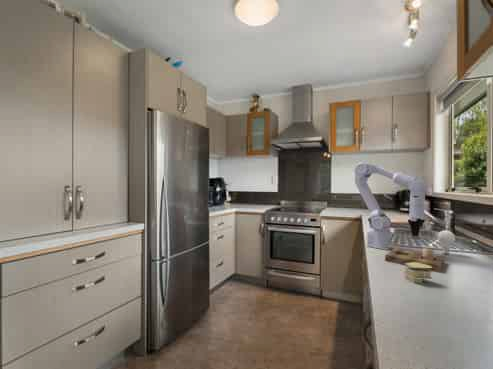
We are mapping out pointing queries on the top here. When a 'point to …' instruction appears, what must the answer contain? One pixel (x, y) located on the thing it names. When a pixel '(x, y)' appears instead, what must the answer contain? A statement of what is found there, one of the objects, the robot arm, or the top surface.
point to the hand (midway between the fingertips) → (416, 235)
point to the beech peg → (417, 236)
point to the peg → (428, 254)
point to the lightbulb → (446, 240)
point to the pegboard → (414, 258)
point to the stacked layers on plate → (417, 272)
